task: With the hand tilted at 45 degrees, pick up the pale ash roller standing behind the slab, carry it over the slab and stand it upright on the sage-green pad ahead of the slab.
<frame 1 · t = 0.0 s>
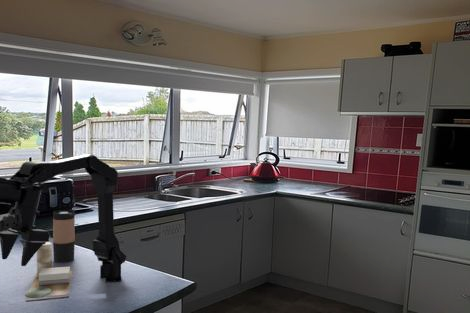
hand: (13, 262, 112), 15 cm above the countertop, tool pointing down, fingers open, 9 cm apart
runway: (51, 286, 135), on the countertop
slab: (54, 285, 135), resting on runway
travel mug: (64, 263, 158), on the countertop
roller: (44, 275, 141), point 1 cm above the countertop, touching runway
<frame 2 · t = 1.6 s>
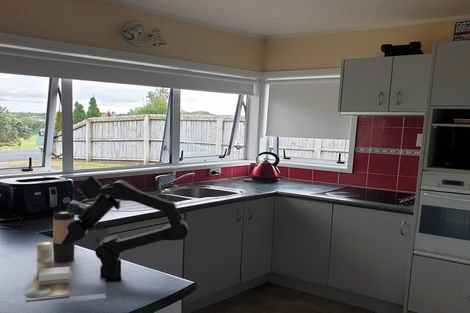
hand: (66, 240, 141), 13 cm above the countertop, tool tilted 45°, fingers open, 9 cm apart
nothing on the countertop moved.
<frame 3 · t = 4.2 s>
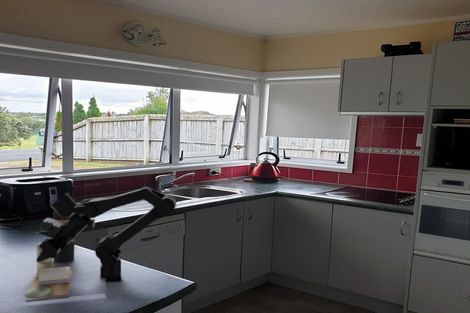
hand: (40, 258, 141), 7 cm above the countertop, tool tilted 45°, fingers closed on roller, 5 cm apart
roller: (44, 275, 141), point 1 cm above the countertop, touching gripper, runway
everything else where it was.
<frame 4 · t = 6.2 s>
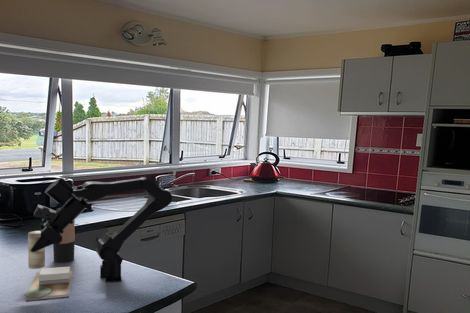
hand: (31, 248, 131), 14 cm above the countertop, tool tilted 45°, fingers closed on roller, 5 cm apart
roller: (36, 266, 132), point 8 cm above the countertop, touching gripper
everything else where it was.
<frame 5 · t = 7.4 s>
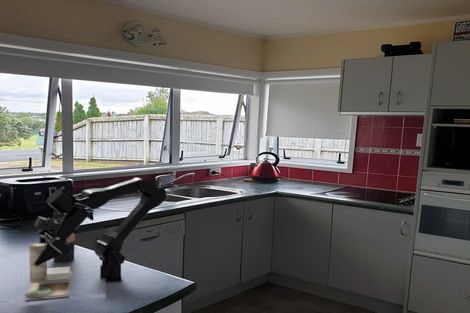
hand: (33, 262, 125), 11 cm above the countertop, tool tilted 45°, fingers closed on roller, 5 cm apart
roller: (38, 280, 127), point 5 cm above the countertop, touching gripper
everything else where it was.
when the fingers open (9 cm above the countertop, at t = 8.3 s): roller drops 1 cm, resting on runway.
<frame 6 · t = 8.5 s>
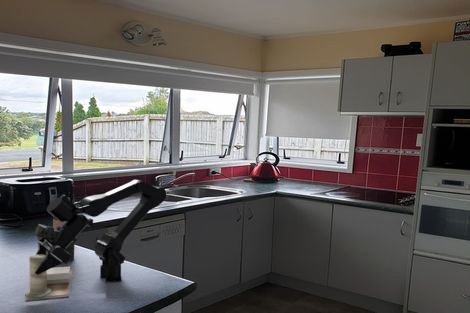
hand: (33, 270, 126), 9 cm above the countertop, tool tilted 45°, fingers open, 7 cm apart
roller: (38, 291, 127), point 2 cm above the countertop, touching runway
everything else where it was.
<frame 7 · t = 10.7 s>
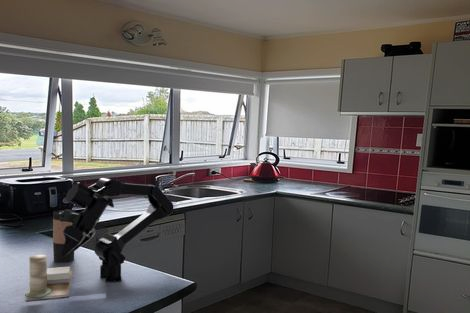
hand: (66, 254, 134), 11 cm above the countertop, tool tilted 30°, fingers open, 9 cm apart
nothing on the countertop moved.
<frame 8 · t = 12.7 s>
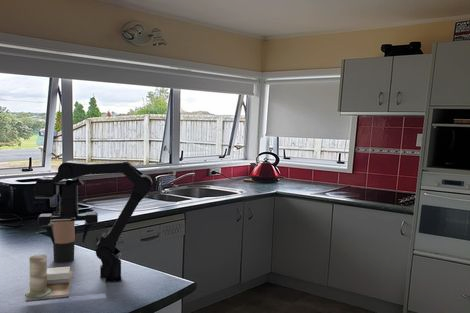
hand: (68, 243, 140), 13 cm above the countertop, tool pointing down, fingers open, 9 cm apart
nothing on the countertop moved.
at the end: roller 0.0 cm from the target spot, point 1.5 cm above the countertop; roller tilted 0°; the gripper is holding nothing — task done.
